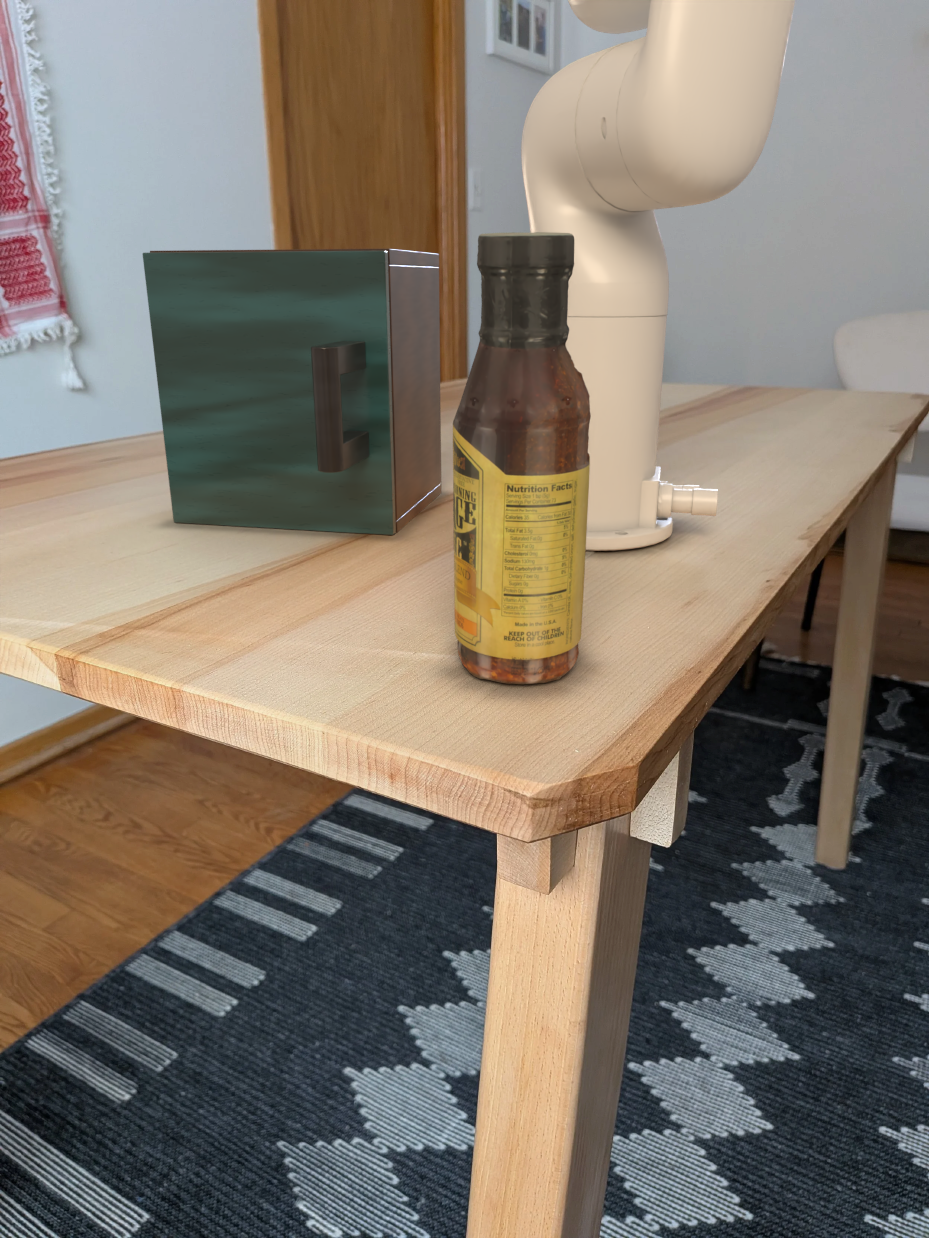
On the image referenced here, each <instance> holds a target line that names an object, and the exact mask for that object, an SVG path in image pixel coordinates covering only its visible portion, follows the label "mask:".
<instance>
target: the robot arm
mask: <svg viewBox="0 0 929 1238" xmlns="http://www.w3.org/2000/svg"><path fill="white" fill-rule="evenodd" d="M567 2H568V3H569V7H570V9H571V10H572V12H573V14H574V15H575V16H576V18H577V19H578V20H579V21H580V22H581V23H582V24H584V25H586V26H587V27H588V28H590V29H591V30H593V31H596V32H598V33H603V34H611V35H619V34H627V33H632V32H637V31H642V30H645V29H646V32H645V36H642V37H639V38H636V39H634V40H630V41H625V42H621V43H618V44H615V45H612V46H610V47H607V48H604V49H602V50H598V51H596V52H592V53H590V54H588V55H585V56H583V57H580V58H578V59H576V60H574V61H572V62H570V63H568V64H567V65H565V66H564V67H562V68H561V69H560V70H558V71H557V72H556V73H554V74H553V75H552V76H551V77H550V78H549V79H548V80H547V81H546V82H545V83H544V84H543V85H542V86H541V88H540V89H539V91H538V92H537V94H536V95H535V96H534V98H533V100H532V102H531V104H530V106H529V108H528V111H527V113H526V116H525V120H524V123H523V127H522V133H521V142H520V143H521V144H520V159H521V171H522V172H521V173H522V180H523V187H524V194H525V201H526V206H527V215H528V223H529V233H535V232H552V233H570V234H572V235H573V236H574V267H573V271H572V275H571V277H570V279H569V282H568V283H569V288H568V313H567V325H568V327H569V334H568V339H567V341H566V348H567V350H568V352H569V354H570V355H571V359H572V360H573V363H574V367H575V368H576V369H577V370H578V371H579V372H580V373H582V376H583V380H584V383H585V385H586V388H587V390H588V393H589V396H590V397H589V401H590V414H591V418H590V423H589V433H588V436H589V440H588V453H589V456H590V472H589V494H588V512H587V532H586V551H594V552H595V551H598V552H599V551H600V552H601V551H621V550H632V549H640V548H645V547H649V546H653V545H657V544H659V543H661V542H664V541H665V540H667V539H668V538H670V537H671V535H672V534H673V528H674V519H673V517H672V513H676V514H677V513H678V514H690V516H708V517H716V516H717V511H718V503H719V502H718V501H719V489H717V488H701V485H698V484H697V485H696V484H695V485H694V484H683V485H678V484H674V483H670V482H669V480H661V469H662V468H661V466H657V457H658V443H659V433H660V432H659V429H660V417H661V404H662V389H663V377H664V376H663V374H664V363H665V362H664V359H665V349H666V335H667V334H666V333H667V320H668V310H669V297H670V296H669V295H670V280H669V279H670V277H669V276H670V275H669V265H668V258H667V253H666V249H665V245H664V241H663V237H662V234H661V231H660V227H659V224H658V220H657V217H656V212H655V211H656V210H665V209H673V208H684V207H688V206H696V205H702V204H706V203H709V202H712V201H715V200H718V199H720V198H722V197H724V196H726V195H728V194H729V193H731V192H732V191H734V190H735V189H736V188H738V186H739V185H741V183H743V182H744V181H745V179H746V178H747V177H748V176H749V174H751V172H752V171H753V169H754V168H755V166H756V164H757V162H758V160H759V159H760V157H761V155H762V153H763V150H764V148H765V145H766V143H767V140H768V137H769V134H770V131H771V127H772V123H773V120H774V116H775V111H776V106H777V102H778V97H779V91H780V86H781V80H782V75H783V70H784V65H785V59H786V53H787V49H788V42H789V37H790V32H791V26H792V21H793V15H794V10H795V3H796V0H567Z"/></svg>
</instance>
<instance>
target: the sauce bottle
mask: <svg viewBox="0 0 929 1238" xmlns="http://www.w3.org/2000/svg"><path fill="white" fill-rule="evenodd" d="M476 257H477V258H476V266H477V269H478V271H479V273H480V278H481V279H480V280H481V283H480V288H481V290H480V291H481V293H480V296H481V307H480V308H481V310H480V314H481V315H480V328H479V330H478V337H479V342H478V345H477V349H476V352H475V355H474V358H473V362H472V364H471V368H470V371H469V374H468V376H467V379H466V383H465V386H464V389H463V392H462V395H461V397H460V398H461V399H460V400H459V401H460V402H459V405H458V407H457V410H456V413H455V416H454V418H453V421H452V476H453V477H452V480H453V481H452V484H453V485H452V486H453V487H452V495H453V496H452V517H453V578H454V579H453V588H454V589H453V592H454V593H453V595H454V596H453V597H454V600H453V602H454V603H453V604H454V605H453V606H454V612H453V613H454V635H455V638H456V639H457V653H458V656H459V660H460V662H461V664H462V666H463V667H464V668H466V671H467V672H468V673H469V674H471V676H473V677H475V678H476V679H480V680H487V681H492V682H496V683H502V684H507V685H509V684H511V685H533V684H545V683H549V682H553V681H558V680H561V678H562V677H564V676H565V675H567V673H569V672H570V671H571V670H572V669H573V667H574V666H575V664H576V663H577V660H578V657H579V654H580V649H579V643H580V641H581V638H582V627H583V626H582V625H583V608H584V591H585V590H584V587H585V571H586V570H585V569H586V551H587V550H586V532H587V512H588V494H589V472H590V456H589V453H588V440H589V436H588V433H589V423H590V418H591V414H590V401H589V397H590V396H589V393H588V390H587V388H586V385H585V383H584V380H583V376H582V373H580V372H579V371H578V370H577V369H576V368H575V367H574V363H573V360H572V359H571V355H570V354H569V352H568V350H567V348H566V341H567V339H568V334H569V327H568V325H567V313H568V288H569V283H568V282H569V279H570V277H571V275H572V271H573V267H574V236H573V235H572V234H570V233H552V232H535V233H530V232H489V233H480V234H479V235H478V238H477V256H476Z"/></svg>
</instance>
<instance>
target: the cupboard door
mask: <svg viewBox="0 0 929 1238" xmlns="http://www.w3.org/2000/svg"><path fill="white" fill-rule="evenodd" d="M142 261H143V269H144V270H143V271H144V278H145V289H146V296H147V303H148V304H147V305H148V312H149V313H148V314H149V321H150V329H151V339H152V346H153V348H152V349H153V355H154V364H155V372H156V373H155V374H156V382H157V391H158V399H159V407H160V414H161V415H160V416H161V425H162V434H163V442H164V450H165V459H166V468H167V476H168V485H169V493H170V503H171V509H172V511H171V512H172V521H173V523H177V524H194V525H211V526H228V527H245V528H246V527H247V528H260V529H261V528H262V529H263V528H264V529H279V530H280V529H281V530H295V531H296V530H297V531H312V532H313V531H315V532H333V533H349V534H350V533H351V534H368V535H384V536H385V535H386V536H393V535H395V534H396V533H397V532H396V519H395V484H394V450H393V415H392V380H391V346H390V311H389V276H388V252H387V251H274V252H158V253H150V252H142Z"/></svg>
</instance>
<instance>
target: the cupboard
mask: <svg viewBox="0 0 929 1238" xmlns="http://www.w3.org/2000/svg"><path fill="white" fill-rule="evenodd" d="M274 251H387V252H388V276H389V311H390V346H391V380H392V415H393V450H394V484H395V519H396V533H398V532H400V531H401V530H402V529H403V528H404V527H405V526H406V525H408V524H409V523H410V522H411V521H412V520H413V519H414V518H415V517H416V516H418V515H419V514H420V513H421V512H423V510H424V509H425V508H427V507H428V506H429V505H430V504H431V503H432V502H434V500H435V499H436V498H438V497H439V496H440V495H441V494H442V427H441V426H442V425H441V424H442V421H441V420H442V419H441V416H442V415H441V328H440V327H441V325H440V323H441V322H440V254H439V253H437V252H436V253H435V252H426V251H417V250H415V251H414V250H406V249H396V248H309V249H307V248H305V249H304V248H303V249H302V248H301V249H300V248H299V249H297V248H296V249H295V248H294V249H199V250H198V249H197V250H196V249H194V250H192V249H190V250H185V249H183V250H149V253H158V252H274Z"/></svg>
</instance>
